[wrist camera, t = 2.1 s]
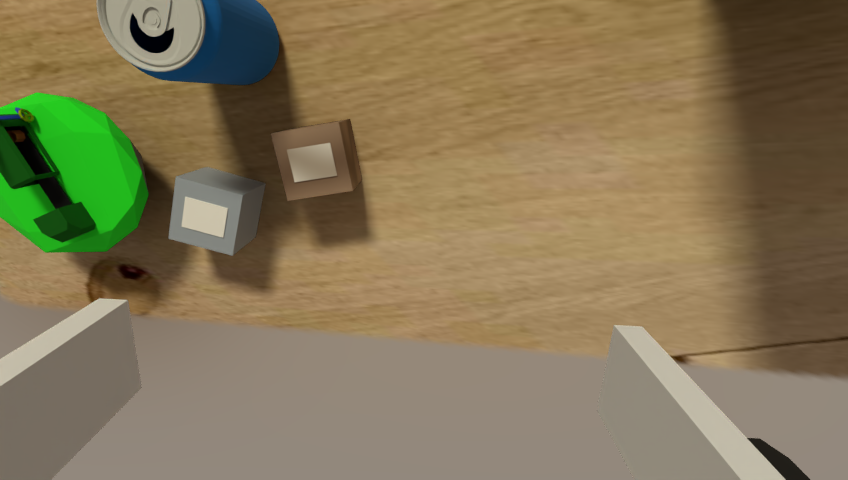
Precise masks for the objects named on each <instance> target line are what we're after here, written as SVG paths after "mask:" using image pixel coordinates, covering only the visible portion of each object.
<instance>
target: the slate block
mask: <svg viewBox="0 0 848 480" xmlns="http://www.w3.org/2000/svg"><path fill="white" fill-rule="evenodd" d="M265 184H266V183H263V182H259V181H256V180H252V179H249V178H245V177H242V176H238V175H234V174H231V173H227V172H224V171H220V170H217V169H213V168H209V167H205V168H202V169H199V170H196V171H192V172H189V173H186V174H183V175H180V176H176V180H175V188H174V196H173V205H172V213H171V221H170V229H169V238H168V239H172V240H175V241H179V242H183V243H187V244H190V245H194V246H198V247H202V248H205V249H209V250H213V251H217V252H220V253H224V254H228V255H232V256H233V255H234V254H235V253H237V252H238V251H239V250H240V249H242V248H243V247H244V246H245V245H247V244H248V243H249V242H250V241H252V240H253V239H254V238H255V237H256V233H257V227H258V222H259V216H260V211H261V205H262V200H263V195H264V189H265Z"/></svg>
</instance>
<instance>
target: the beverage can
mask: <svg viewBox="0 0 848 480" xmlns="http://www.w3.org/2000/svg"><path fill="white" fill-rule="evenodd" d="M97 13H98V18H99V21H100V25H101V27H102V30H103V32H104V34H105V36H106V38H107V40H108V41H109V43H110V44H111V45H112V47H113V48H114V49H115V50H116V51H117V52H118V53H119V54H120V55H121V56H122V57H123V58H124V59H126V60H127V61H128V62H130V63H131V64H132V65H134V66H135V67H136V68H138V69H139V70H141V71H142V72H144V73H146V74H148V75H150V76H153V77H155V78H158V79H162V80H168V81H182V82H198V83H214V84H230V85H249V84H253V83H255V82H258V81H260V80H261V79H263V78H264V77H265V76H266V75H268V74H269V72H270V71H271V70H272V68H273V67H274V65H275V63H276V61H277V57H278V53H279V36H278V31H277V28H276V25H275V23H274V21H273V19H272V17H271V16H270V14H269V13H268V12H267V10H266V9H265V8H264V7H263V6H262V5H261V4H260V3H258V2H257V1H256V0H97Z"/></svg>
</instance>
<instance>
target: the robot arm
mask: <svg viewBox="0 0 848 480" xmlns="http://www.w3.org/2000/svg"><path fill="white" fill-rule="evenodd" d="M140 389H141V381H140V374H139V369H138V362H137V355H136V349H135V343H134V337H133V329H132V323H131V316H130V310H129V303H128V300H118V299H98V300H96V301H94V302H93V303H91V304H90V305H88V306H86V307H85V308H83V309H81V310H80V311H78V312H76V313H75V314H73V315H72V316H70V317H68V318H67V319H65V320H63V321H62V322H60V323H58V324H57V325H56V326H54V327H52V328H51V329H49V330H47V331H45V332H44V333H42V334H41V335H39V336H37V337H36V338H34V339H32V340H31V341H29V342H28V343H26V344H24V345H23V346H21V347H19V348H18V349H16V350H15V351H13V352H11V353H10V354H8V355H6V356H5V357H3V358H1V359H0V480H51V479H52V478H53V477H54V476H55V475H56V474H57V473H58V472H59V471H60V470H61V469H62V468H63V467H64V466H65V465H66V464H67V463H68V462H69V461H70V460H71V459H72V458H73V457H74V456H75V455H76V454H77V453H78V452H79V451H80V450H81V449H82V448H83V447H84V446H85V445H86V444H87V443H88V442H89V441H90V440H91V438H93V437H94V436H95V435H96V434H97V433H98V432H99V430H100V429H101V428H102V427H103V426H104V425H105V424H106V423H107V422H108V421H109V420H110V419H111V418H112V417H113V416H114V415H115V414H116V413H117V412H118V411H119V410H120V409H121V408H122V407H123V406H124V405H125V404H126V403H127V402H128V401H129V400H130V399H131V398H132V397H133V396H134V395H135V394H136V393H137V392H138V391H139V390H140ZM597 412H598V413H599V415H600V417H601V419H602V421H603V423H604V424H605V426H606V428H607V430H608V432H609V434H610V436H611V437H612V439H613V441H614V443H615V445H616V447H617V448H618V450H619V452H620V454H621V456H622V458H623V459H624V461H625V463H626V465H627V467H628V469H629V470H630V472H631V474H632V476H633V478H634V479H635V480H810V479H809V478H808V477H807V476H806V475H805V474H804V473H803V472H802V471H801V470H800V469H799V468H798V467H797V466H796V465H795V464H794V463H793V462H792V461H791V460H790V459H789V458H788V457H786V456H785V455H783V454H782V453H780V452H779V451H777V450H776V449H774V448H773V447H771V446H770V445H768V444H767V443H766V442H764V441H763V440H761V439H755V438H746V437H745V436H744V435H743V434H742V433H741V432H740V431H739V429H738V428H737V427H736V426H735V425H734V424H733V423H732V422H731V421H730V420H729V419H728V418H727V417H726V415H725V414H724V413H723V412H722V411H721V410H720V409H719V408H718V407H717V406H716V405H715V404H714V403H713V402H712V401H711V400H710V398H709V397H708V396H707V395H706V394H705V393H704V392H703V391H702V390H701V389H700V388H699V387H698V386H697V385H696V384H695V382H694V381H693V380H692V379H691V378H690V377H689V376H688V375H687V374H686V373H685V372H684V371H683V370H682V369H681V368H680V366H679V365H678V364H677V363H676V362H675V361H674V360H673V359H672V358H671V357H670V356H669V355H668V354H667V353H666V352H665V351H664V349H663V348H662V347H661V346H660V345H659V344H658V343H657V342H656V341H655V340H654V339H653V338H652V337H651V336H650V335H649V333H648V332H647V331H646V330H645V329H644V328H643V327H641V326H622V325H614V327H613V332H612V337H611V342H610V347H609V352H608V357H607V363H606V367H605V372H604V377H603V383H602V388H601V393H600V398H599V403H598V408H597Z"/></svg>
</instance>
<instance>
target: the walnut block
mask: <svg viewBox="0 0 848 480" xmlns="http://www.w3.org/2000/svg"><path fill="white" fill-rule="evenodd" d="M271 137H272V141H273V145H274V149H275V153H276V157H277V161H278V165H279V169H280V173H281V177H282V181H283V185H284V189H285V193H286V197H287V201H290V200H297V199H303V198H310V197H316V196H323V195H329V194H336V193H342V192H349V191H353V190H354V189H355V188H356V186H357V185H358V184H359V183H360V181H361V180H362V176H361V171H360V166H359V161H358V156H357V151H356V146H355V141H354V136H353V131H352V126H351V121H350V119H347V120H341V121H335V122H329V123H323V124H317V125H311V126H304V127H298V128H292V129H287V130H283V131H279V132H275V133H271Z"/></svg>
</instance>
